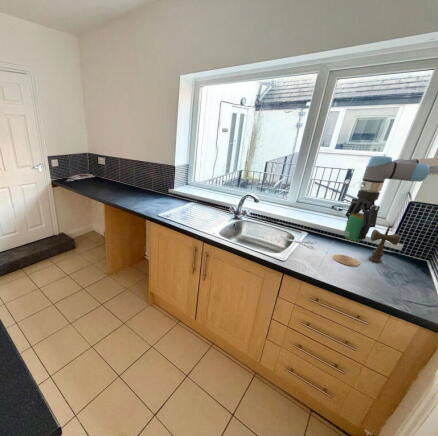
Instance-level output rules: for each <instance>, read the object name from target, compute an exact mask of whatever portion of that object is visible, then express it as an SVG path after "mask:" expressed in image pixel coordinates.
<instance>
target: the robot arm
mask: <svg viewBox="0 0 438 436" xmlns="http://www.w3.org/2000/svg"><path fill="white" fill-rule="evenodd" d="M368 159H369V160H368V161H367V164H366V165H365V170H364V172H363V176H362V179H361V183H360V186H359V189H358V191H357V194H356V197H357V198H352V199H351V203H350V204H349V206H348V208H347V211H346V213H345V215H344V216H345V217H346V218H347V221H346V225H345V227H346V226H347V223H348V220H349V217H350V216H351V215H352V214H353V213H360V212H361V211H362V214H364V226H362V228H361V231H360V233H359V236H358V239H363V240H366V238H367V235H368V234H369V231H370V229H371V228H376V223H377V220H378V219H377V218H378V213H379V211H380V208H381V206H380V205H376V204H375V202H376V201H378V199H379V198H380V194H381V191H382V189H383V187H384V183H385V181H386V180H395V181H404V182H406V181H407V182H417V183H418V182H419V183H420V182H423V181H425V180H426V178H427V177H428V176H438V157H426V158H414V159H413V158H411V159H403V158H400V159H394V160H393V157H392V156H384V155H372V156H370V157H369V158H368Z"/></svg>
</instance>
